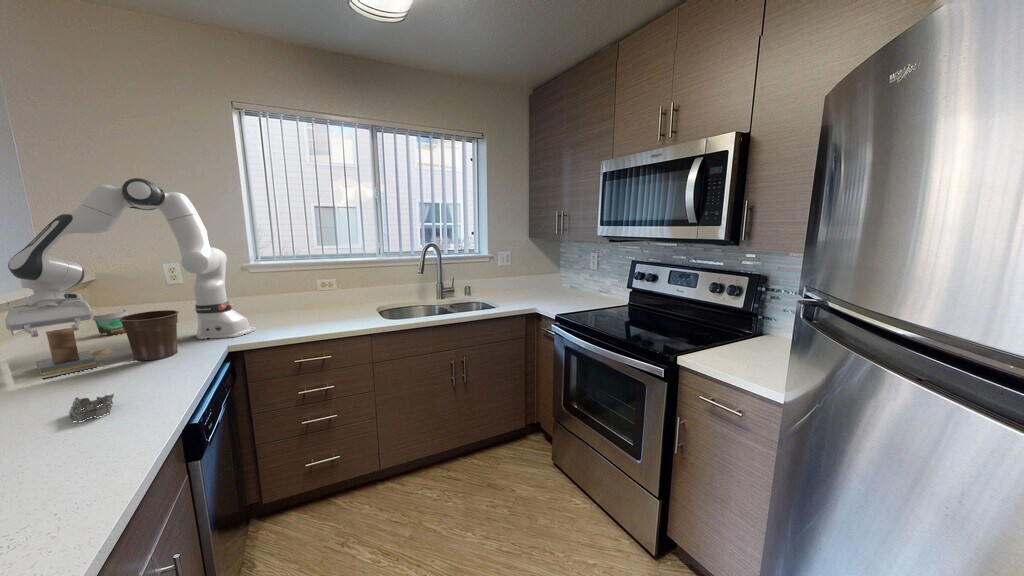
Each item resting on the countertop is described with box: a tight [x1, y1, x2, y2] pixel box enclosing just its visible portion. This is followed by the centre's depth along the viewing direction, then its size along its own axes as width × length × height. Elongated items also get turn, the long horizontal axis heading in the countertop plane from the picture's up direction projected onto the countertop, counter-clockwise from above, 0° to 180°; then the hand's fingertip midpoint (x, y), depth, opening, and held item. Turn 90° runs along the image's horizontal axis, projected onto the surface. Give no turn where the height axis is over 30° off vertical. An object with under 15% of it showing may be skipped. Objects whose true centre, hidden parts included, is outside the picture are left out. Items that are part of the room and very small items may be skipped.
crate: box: [45, 327, 79, 363], centre depth 129 cm, size 6×6×10 cm
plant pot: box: [119, 309, 180, 362], centre depth 143 cm, size 16×16×16 cm
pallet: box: [89, 348, 115, 357], centre depth 144 cm, size 8×8×2 cm
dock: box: [35, 350, 97, 381], centre depth 130 cm, size 12×12×4 cm
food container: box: [92, 309, 130, 337], centre depth 174 cm, size 12×6×10 cm, turn 168°
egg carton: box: [68, 393, 115, 423], centre depth 100 cm, size 11×8×4 cm
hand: (55, 332), depth 136 cm, fingers open, 8 cm apart
